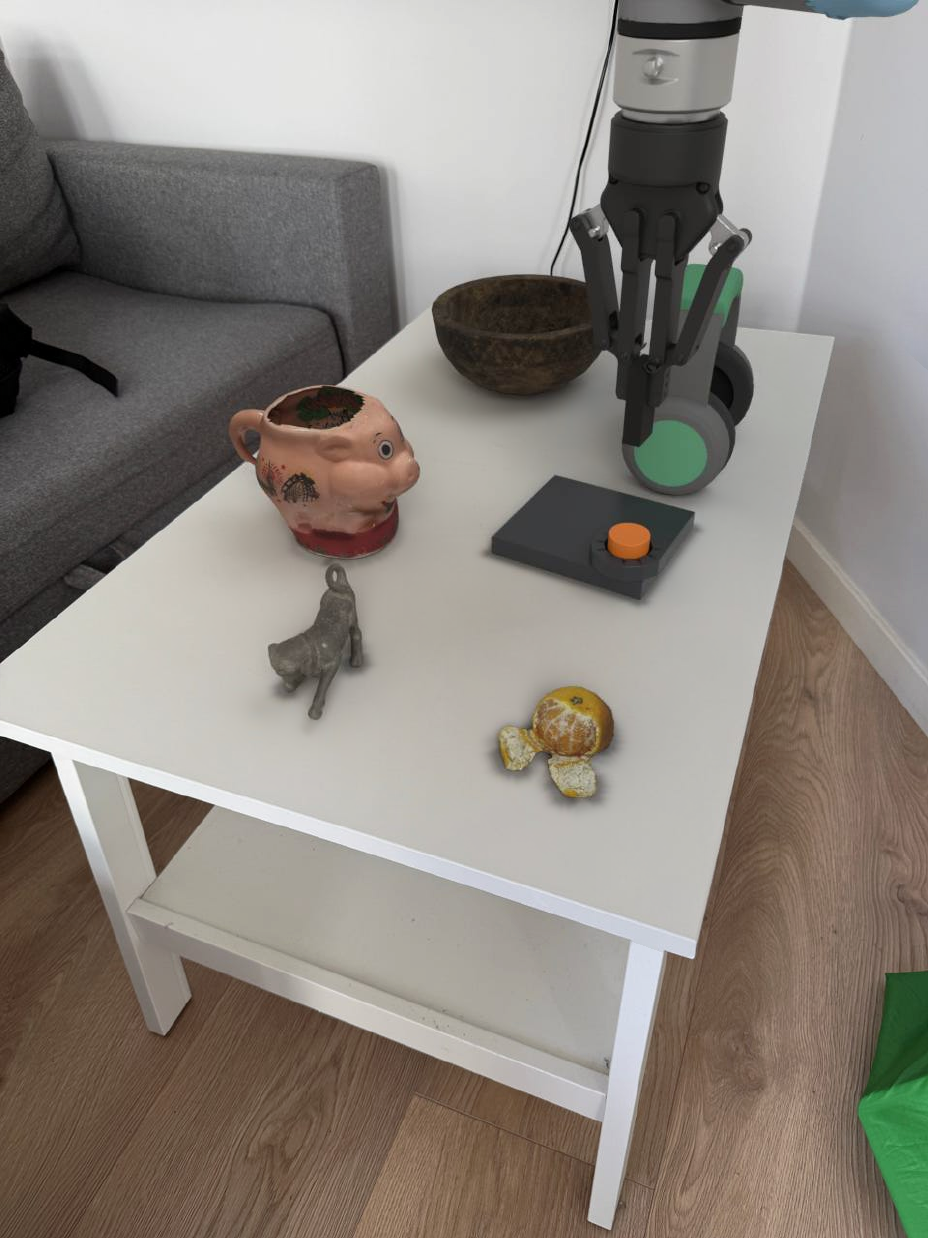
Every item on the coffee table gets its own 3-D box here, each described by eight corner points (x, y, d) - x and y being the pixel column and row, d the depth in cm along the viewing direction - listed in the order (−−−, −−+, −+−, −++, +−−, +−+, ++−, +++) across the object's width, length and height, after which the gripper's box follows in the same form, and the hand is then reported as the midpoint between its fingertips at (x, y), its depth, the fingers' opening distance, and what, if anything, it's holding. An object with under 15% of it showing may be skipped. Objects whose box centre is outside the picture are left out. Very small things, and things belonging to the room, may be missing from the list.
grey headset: (654, 414, 107) (673, 236, 95) (749, 428, 104) (782, 246, 91) (611, 493, 94) (626, 298, 81) (718, 512, 90) (752, 312, 78)
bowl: (560, 437, 104) (563, 352, 97) (402, 398, 113) (395, 319, 107) (636, 367, 118) (643, 289, 112) (490, 338, 127) (489, 264, 121)
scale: (700, 530, 88) (705, 499, 86) (644, 607, 79) (648, 574, 77) (554, 490, 95) (555, 460, 93) (487, 557, 86) (486, 525, 84)
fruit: (485, 756, 66) (484, 720, 64) (547, 691, 71) (548, 655, 69) (584, 808, 62) (587, 772, 60) (642, 735, 67) (647, 699, 65)
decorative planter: (211, 550, 88) (177, 418, 79) (271, 488, 97) (247, 362, 88) (403, 585, 83) (390, 447, 74) (448, 516, 92) (441, 385, 83)
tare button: (655, 543, 81) (656, 529, 80) (639, 564, 79) (640, 549, 78) (617, 532, 83) (618, 518, 82) (600, 552, 80) (601, 538, 79)
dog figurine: (317, 623, 79) (305, 552, 74) (380, 634, 77) (372, 562, 73) (254, 719, 70) (236, 645, 65) (324, 733, 68) (310, 659, 64)
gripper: (553, 113, 59) (544, 439, 74) (750, 129, 54) (698, 478, 69) (601, 93, 64) (584, 403, 79) (787, 106, 59) (731, 436, 74)
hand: (637, 437), depth 74 cm, fingers closed
